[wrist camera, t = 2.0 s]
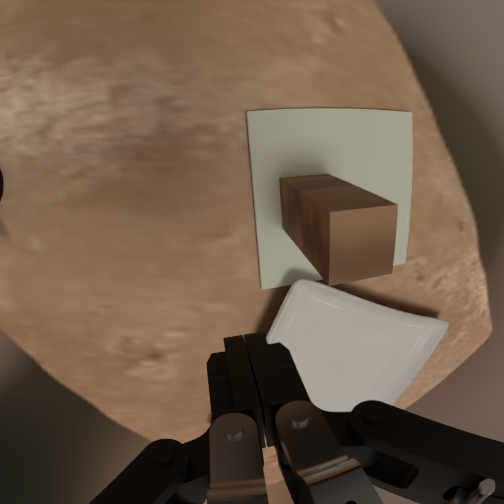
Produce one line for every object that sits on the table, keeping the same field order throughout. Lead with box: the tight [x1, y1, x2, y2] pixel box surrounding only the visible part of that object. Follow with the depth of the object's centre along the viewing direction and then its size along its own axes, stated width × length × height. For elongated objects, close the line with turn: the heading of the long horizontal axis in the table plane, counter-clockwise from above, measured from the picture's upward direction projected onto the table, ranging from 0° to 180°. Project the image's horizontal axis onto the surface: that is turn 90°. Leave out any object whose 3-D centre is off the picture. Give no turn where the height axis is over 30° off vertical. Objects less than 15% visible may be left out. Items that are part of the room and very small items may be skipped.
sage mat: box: [246, 108, 413, 290], centre depth 31 cm, size 18×18×1 cm
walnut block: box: [279, 174, 398, 286], centre depth 25 cm, size 5×5×12 cm
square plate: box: [264, 279, 449, 443], centre depth 40 cm, size 27×27×4 cm
